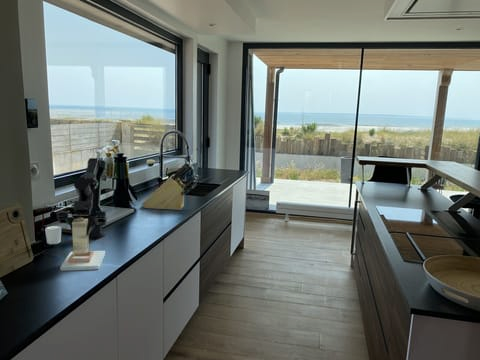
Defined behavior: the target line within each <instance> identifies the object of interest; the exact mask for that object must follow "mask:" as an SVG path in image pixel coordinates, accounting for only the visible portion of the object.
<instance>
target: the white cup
mask: <svg viewBox="0 0 480 360" xmlns="http://www.w3.org/2000/svg"><path fill="white" fill-rule="evenodd" d="M44 231H45V237H46V244H48V245H57V244H60V243H61V241H62V239H61V238H62V227H61V226H60V225H52V226H47V227H45V228H44Z"/></svg>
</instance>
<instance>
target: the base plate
mask: <svg viewBox="0 0 480 360" xmlns="http://www.w3.org/2000/svg"><path fill="white" fill-rule="evenodd" d="M105 255H106V250H88V251H87V253H74V254H73V251H70V252H69V254H68V255H67V257H66V258H65V260H64V261H63V262H62V264H61V265H60V271H61V272H64V271H88V270H90V271H91V270H99V269H100V266H101V264H102V262H103V260H104V257H105Z"/></svg>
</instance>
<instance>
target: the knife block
mask: <svg viewBox="0 0 480 360" xmlns="http://www.w3.org/2000/svg"><path fill="white" fill-rule="evenodd" d="M194 169H195V167H194V166H193V165H191V164H190V162H189V161H187V162H185V163H184V164H183V165H182V166H181V167H180V168H179V169H178V170H176V172H174V173H173V174H172V175H170V177H169V178H168V179H166V180H165V181H164V182H163V183H162V184H161V185H160V186H159V187H158V188H157V189H156V190H155V191H153V192H152V193H151V195H149V196H148V197H147V198H146V199H144V201H143V202H141V206H142V207H143V208H144V209H145V208H146V209H158V210H176V211H181V210H182V208H183V207H184V205H185V195H186V194H188V193H189V192H191V190H193V189H195V187H196V186H197V184H198V183H197V182H194V181H195V180H197V178H198V177H199V175H198V174H195V175H191V176H190V177H189V178H188V179H186V180H185V182H184V183H183V182H182V181H183V179H184V178H186V177H187V176H188V175H189V174H190V173H192V171H193V170H194ZM193 182H194V183H193Z"/></svg>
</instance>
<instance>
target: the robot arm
mask: <svg viewBox="0 0 480 360" xmlns="http://www.w3.org/2000/svg"><path fill="white" fill-rule="evenodd" d="M86 166H87V168H86V170H85V173H83V174H82V175H80V177H79V178H78V179H76V181H74V183H73V186H74V189H75V192H76V194H77V196H78V197H77V198H78V199H77V201H76V200H74V201H73V210H74V211H73V212H74V213H75V214H73V213H69V211H67V210H65V211H64V210H63V211H62V210H61V211H58V212H57V213H56V218H57V220H58V222H59V224H67V225H68V226H69V228H70V231H71V236H72V237H73V233H72V222H73V221H74V220H75V219H77V218H83V219H88V228H87V233H86V236H88V235H89V239H90V240H91V239H93V240H99V239H100V238H103V237H105V236H106V234H103V227H104V226H106V223H107V221H108V215H107V212H106V211H105V210H103V209H102V208H101V191H102V190H101V189H102V188H101V187H102V179H103V178H104V176H105V175H106V171H107V167H108V166H107V162H106V161H105V160H102V159H101V158H98V157H91V158H90V157H89V158H88V160H87V165H86Z"/></svg>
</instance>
